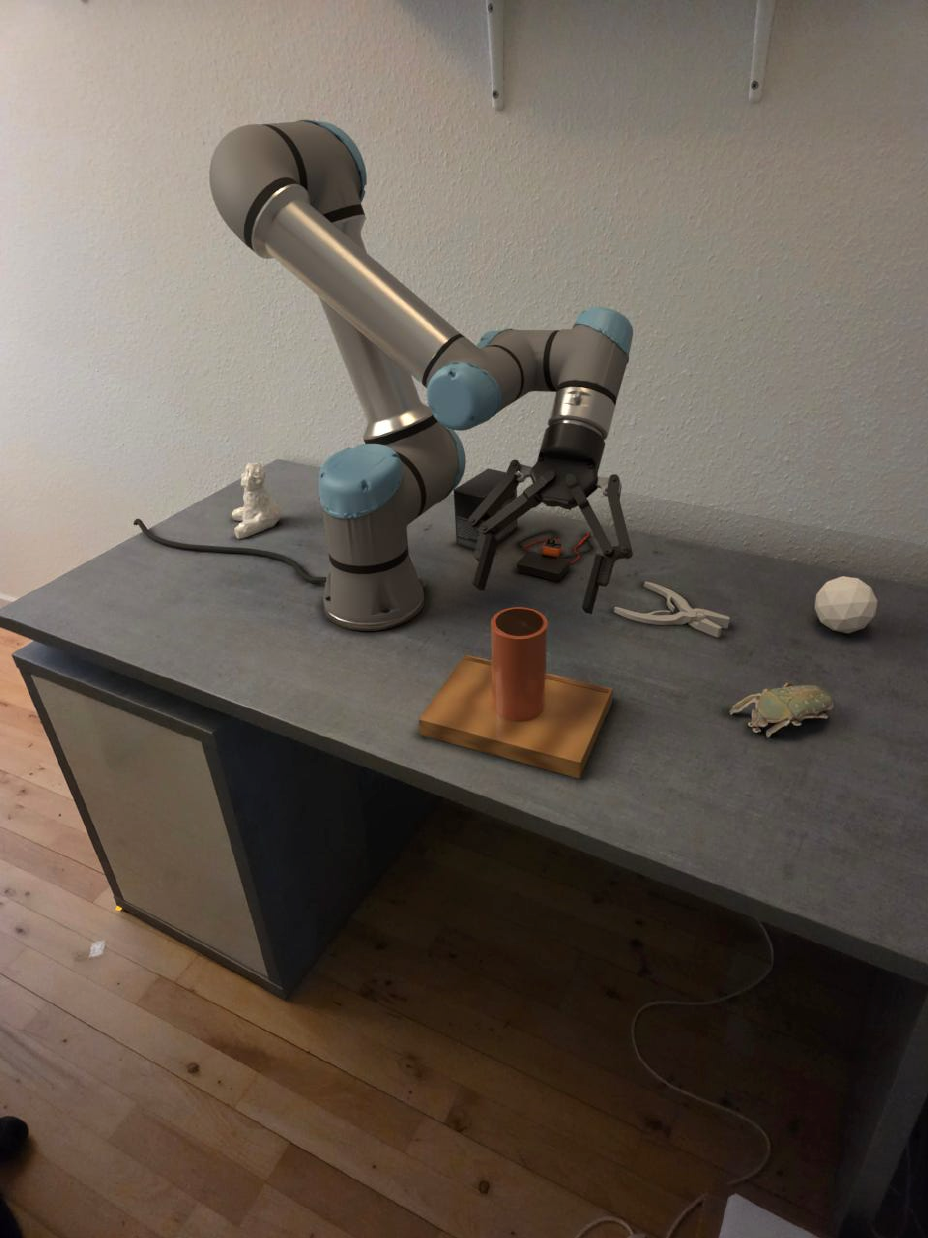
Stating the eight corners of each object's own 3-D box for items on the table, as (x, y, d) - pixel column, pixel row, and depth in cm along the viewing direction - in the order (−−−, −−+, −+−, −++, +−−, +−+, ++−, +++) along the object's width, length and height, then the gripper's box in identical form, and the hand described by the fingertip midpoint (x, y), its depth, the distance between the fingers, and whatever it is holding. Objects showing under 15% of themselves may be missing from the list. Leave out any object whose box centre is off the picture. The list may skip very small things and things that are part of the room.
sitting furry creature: (232, 517, 147) (219, 456, 140) (279, 510, 149) (268, 449, 142) (236, 540, 139) (222, 477, 133) (285, 532, 141) (274, 469, 135)
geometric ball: (821, 635, 115) (816, 580, 115) (883, 631, 110) (877, 574, 111) (812, 635, 108) (806, 578, 109) (877, 631, 104) (871, 570, 104)
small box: (488, 520, 142) (487, 466, 137) (519, 529, 139) (519, 474, 133) (453, 544, 135) (451, 488, 130) (485, 554, 132) (484, 496, 126)
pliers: (646, 575, 122) (740, 607, 114) (645, 584, 123) (738, 616, 114) (613, 603, 115) (710, 639, 107) (613, 612, 116) (708, 648, 108)
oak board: (419, 734, 96) (418, 718, 94) (465, 669, 106) (465, 653, 105) (579, 779, 89) (580, 762, 87) (611, 704, 99) (612, 687, 98)
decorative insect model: (738, 678, 101) (751, 652, 97) (824, 710, 98) (840, 685, 95) (724, 728, 95) (737, 702, 92) (814, 763, 93) (832, 739, 89)
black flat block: (546, 521, 141) (546, 504, 139) (607, 537, 136) (608, 520, 134) (491, 564, 129) (491, 546, 127) (556, 584, 123) (557, 565, 122)
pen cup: (484, 713, 95) (482, 631, 88) (503, 682, 99) (502, 601, 93) (534, 726, 92) (536, 642, 86) (551, 694, 97) (555, 612, 91)
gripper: (473, 407, 97) (425, 570, 94) (677, 433, 88) (631, 613, 86) (490, 434, 104) (446, 586, 101) (680, 460, 95) (638, 628, 92)
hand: (531, 599), depth 93 cm, fingers open, 13 cm apart
